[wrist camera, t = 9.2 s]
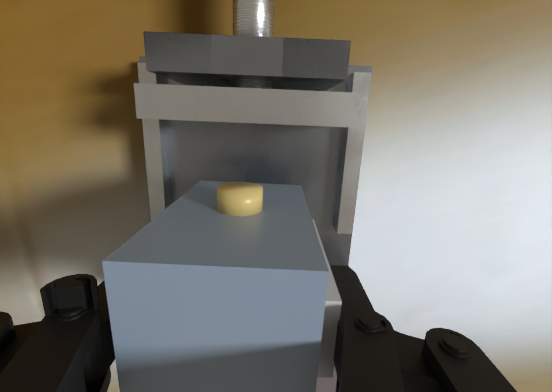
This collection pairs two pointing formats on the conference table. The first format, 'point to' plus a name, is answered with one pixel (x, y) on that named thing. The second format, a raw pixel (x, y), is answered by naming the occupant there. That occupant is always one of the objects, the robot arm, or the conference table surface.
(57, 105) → the conference table surface
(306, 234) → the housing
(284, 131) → the press bed
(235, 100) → the ram
